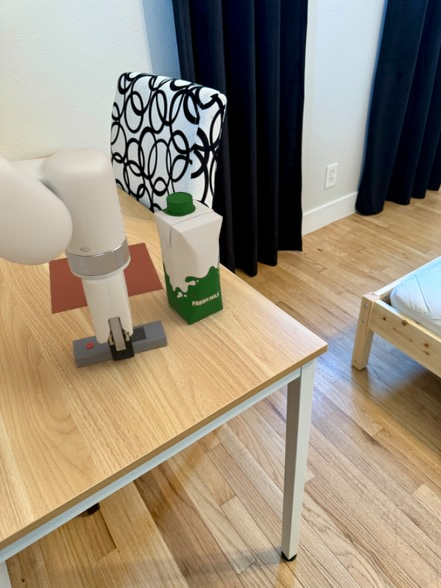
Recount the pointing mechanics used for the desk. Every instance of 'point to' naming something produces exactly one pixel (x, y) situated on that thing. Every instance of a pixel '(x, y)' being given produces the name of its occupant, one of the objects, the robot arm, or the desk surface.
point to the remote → (96, 352)
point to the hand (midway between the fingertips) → (123, 355)
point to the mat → (70, 287)
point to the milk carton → (190, 256)
